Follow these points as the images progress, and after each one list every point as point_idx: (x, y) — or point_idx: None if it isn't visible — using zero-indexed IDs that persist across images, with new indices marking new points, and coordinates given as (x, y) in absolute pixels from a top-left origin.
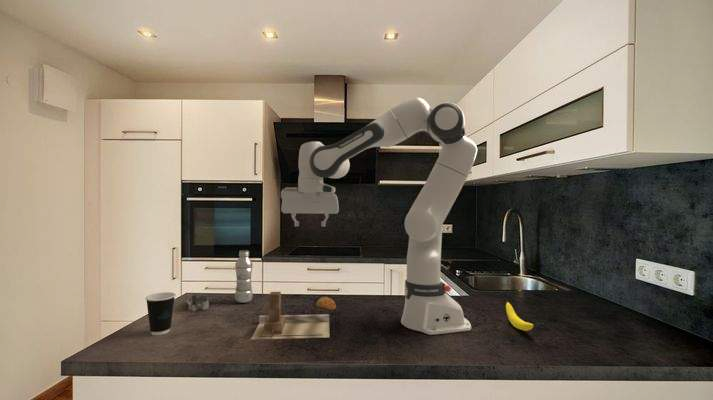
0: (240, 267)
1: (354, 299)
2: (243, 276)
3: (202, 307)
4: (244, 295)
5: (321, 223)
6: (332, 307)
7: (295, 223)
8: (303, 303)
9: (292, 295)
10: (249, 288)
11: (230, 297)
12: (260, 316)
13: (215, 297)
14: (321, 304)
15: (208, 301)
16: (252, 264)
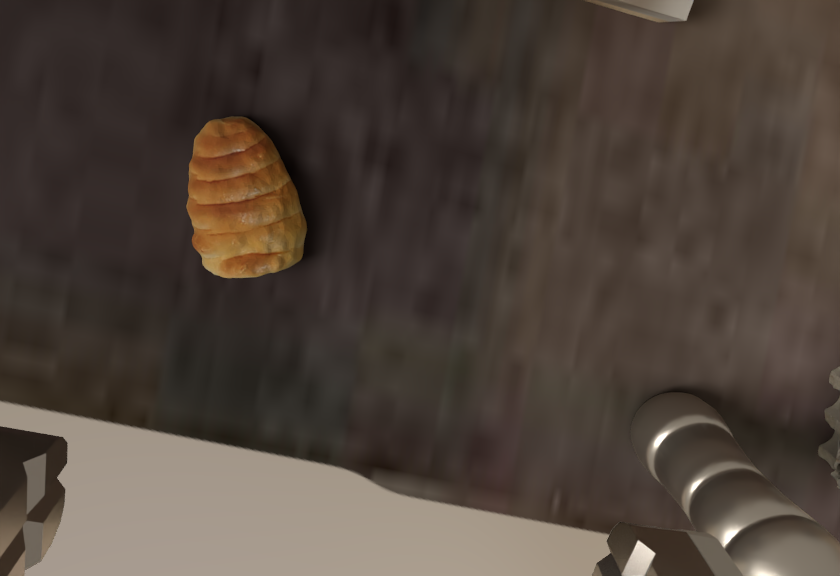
0: (815, 524)
1: (45, 323)
2: (755, 482)
3: None
4: (690, 408)
5: (25, 479)
6: (216, 129)
7: (721, 572)
8: (367, 326)
9: (405, 468)
10: (676, 443)
11: None
12: (686, 5)
13: None
14: (279, 189)
15: (837, 420)
16: None
